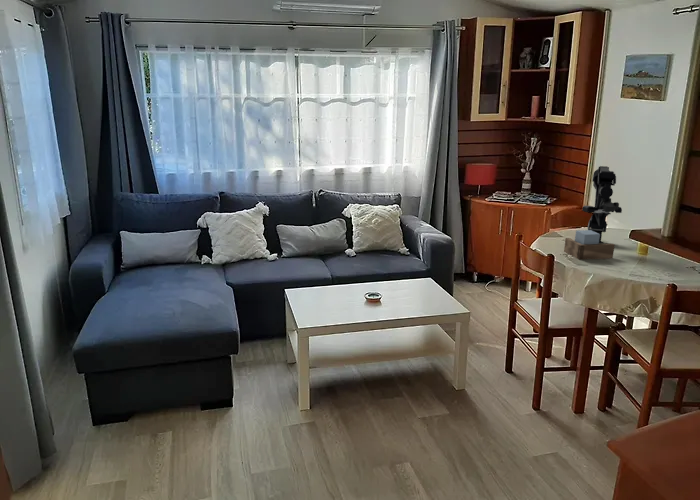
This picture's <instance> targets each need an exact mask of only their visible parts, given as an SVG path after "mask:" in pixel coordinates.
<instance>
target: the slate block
mask: <svg viewBox="0 0 700 500" xmlns="http://www.w3.org/2000/svg"><path fill="white" fill-rule="evenodd" d="M574 236H575V237H574V241H576V242H578V243H580V244H600V243H599V238H600V234H598V233H596V232H594V231H592V230H588V229H585V230H583V229H581V230H575V235H574Z"/></svg>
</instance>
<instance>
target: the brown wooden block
mask: <svg viewBox="0 0 700 500" xmlns="http://www.w3.org/2000/svg"><path fill="white" fill-rule="evenodd" d="M614 251H615V244H614V243H599V244H580V243H578V242H576V241H575V239H572V238H570V237H566V238H565V240H564V248H563V252H565V253H566V254H567V255H570V256H572V257H573V258H576V259H577V260H597V259H599V260H600V259H601V260H602V259H613V257H614Z"/></svg>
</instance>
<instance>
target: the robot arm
mask: <svg viewBox="0 0 700 500" xmlns="http://www.w3.org/2000/svg"><path fill="white" fill-rule="evenodd" d="M591 180H592V182H593V185H592V186H593V187H594V189H595V197H594V198H595V199H594V206H592V205H583V206H582V208H581V211H582V212H585V213H593V214H592V215H591V217H590V219H589V220H588V225H587V230H592V231H594V232H596V233H598V234H600V238H599V244H604V241H602V237H603V236H602V235H603V234H602V233H606V232H607V227H608V223H607V220H606V218H607V217H608V216H609V215H611V214H612V213H614V212H615V213H616V214H617V213H618V214H622V213H623V212H622V211H623V210H622V207H621V206H620V203H619V202H618V201H617V202H616V201H615V202H612V198H611V197H612V196H613V193H614V190H613V188H612V186H615V184H617V176H616V173H615V171H613V170H610V166H604V165H602V166H601V165H600V166H598V168H597V169H596V170H594V172H593V174H592V179H591Z"/></svg>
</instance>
